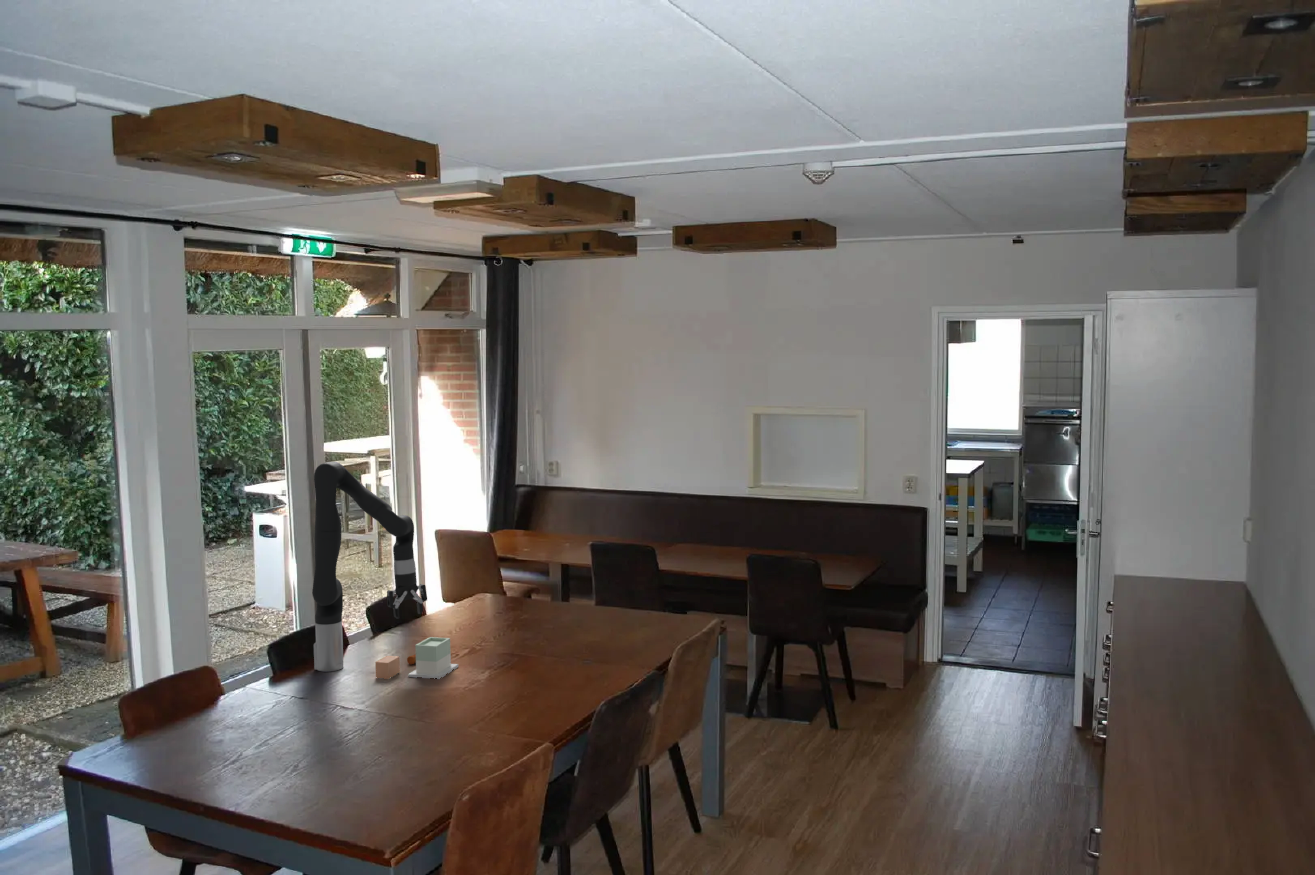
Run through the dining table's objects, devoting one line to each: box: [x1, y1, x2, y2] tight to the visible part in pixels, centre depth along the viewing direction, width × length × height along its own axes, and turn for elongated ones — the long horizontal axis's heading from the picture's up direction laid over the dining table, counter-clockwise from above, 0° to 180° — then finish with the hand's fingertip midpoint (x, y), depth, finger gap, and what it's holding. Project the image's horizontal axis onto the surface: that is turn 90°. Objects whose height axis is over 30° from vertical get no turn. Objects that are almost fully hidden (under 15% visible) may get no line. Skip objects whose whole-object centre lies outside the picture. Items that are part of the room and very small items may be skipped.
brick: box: [374, 655, 401, 680], centre depth 372 cm, size 8×5×6 cm, turn 165°
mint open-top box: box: [408, 636, 459, 680], centre depth 376 cm, size 15×12×11 cm
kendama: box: [406, 637, 440, 665], centre depth 394 cm, size 6×6×20 cm
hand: (408, 616), depth 377 cm, fingers open, 8 cm apart
